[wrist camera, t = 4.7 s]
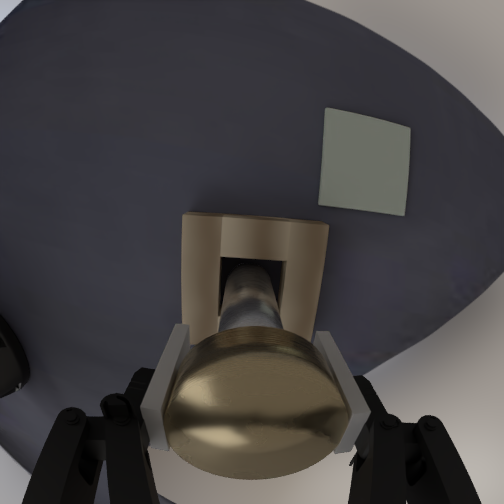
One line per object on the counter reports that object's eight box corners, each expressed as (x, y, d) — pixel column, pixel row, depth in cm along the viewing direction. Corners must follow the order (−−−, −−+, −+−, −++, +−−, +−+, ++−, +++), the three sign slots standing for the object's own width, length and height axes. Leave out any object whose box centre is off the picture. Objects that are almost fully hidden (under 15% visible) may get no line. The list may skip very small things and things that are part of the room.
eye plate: (187, 330, 27) (183, 343, 25) (188, 211, 24) (182, 214, 22) (304, 337, 28) (308, 350, 25) (321, 221, 25) (329, 225, 22)
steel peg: (208, 315, 26) (173, 473, 9) (211, 243, 24) (151, 363, 8) (282, 320, 26) (323, 475, 10) (291, 248, 24) (371, 369, 8)
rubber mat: (317, 204, 25) (319, 205, 24) (324, 109, 22) (326, 107, 22) (401, 215, 25) (404, 216, 24) (407, 128, 23) (410, 127, 22)
